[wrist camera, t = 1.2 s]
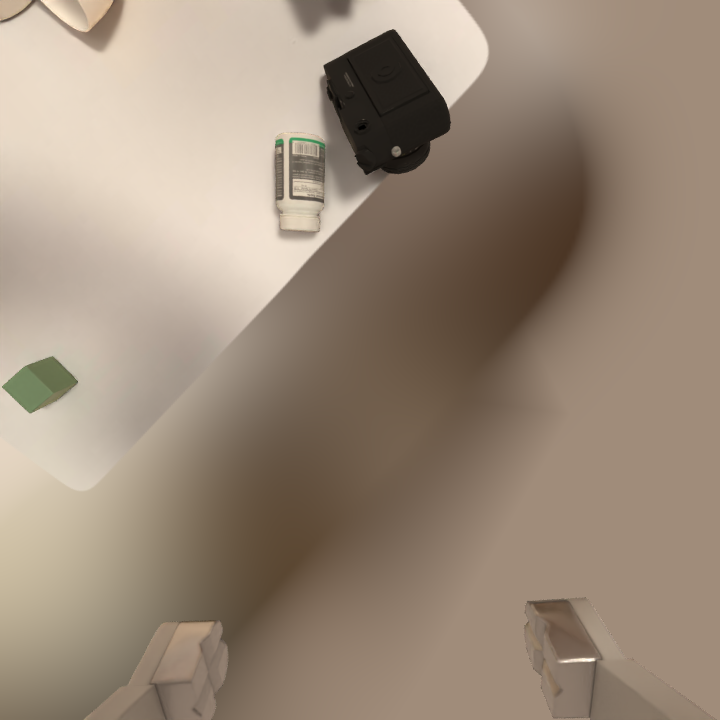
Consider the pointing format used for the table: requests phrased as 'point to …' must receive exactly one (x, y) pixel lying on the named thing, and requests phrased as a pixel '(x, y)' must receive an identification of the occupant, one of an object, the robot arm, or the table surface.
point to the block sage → (39, 384)
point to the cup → (79, 12)
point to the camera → (386, 104)
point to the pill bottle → (300, 180)
